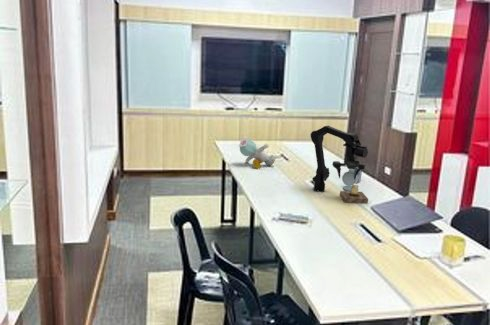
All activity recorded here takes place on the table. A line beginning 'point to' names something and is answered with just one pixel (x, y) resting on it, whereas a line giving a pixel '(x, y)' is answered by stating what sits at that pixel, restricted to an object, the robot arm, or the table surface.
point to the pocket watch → (348, 180)
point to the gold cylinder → (354, 190)
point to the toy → (255, 153)
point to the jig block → (353, 197)
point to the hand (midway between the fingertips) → (346, 178)
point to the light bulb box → (358, 177)
